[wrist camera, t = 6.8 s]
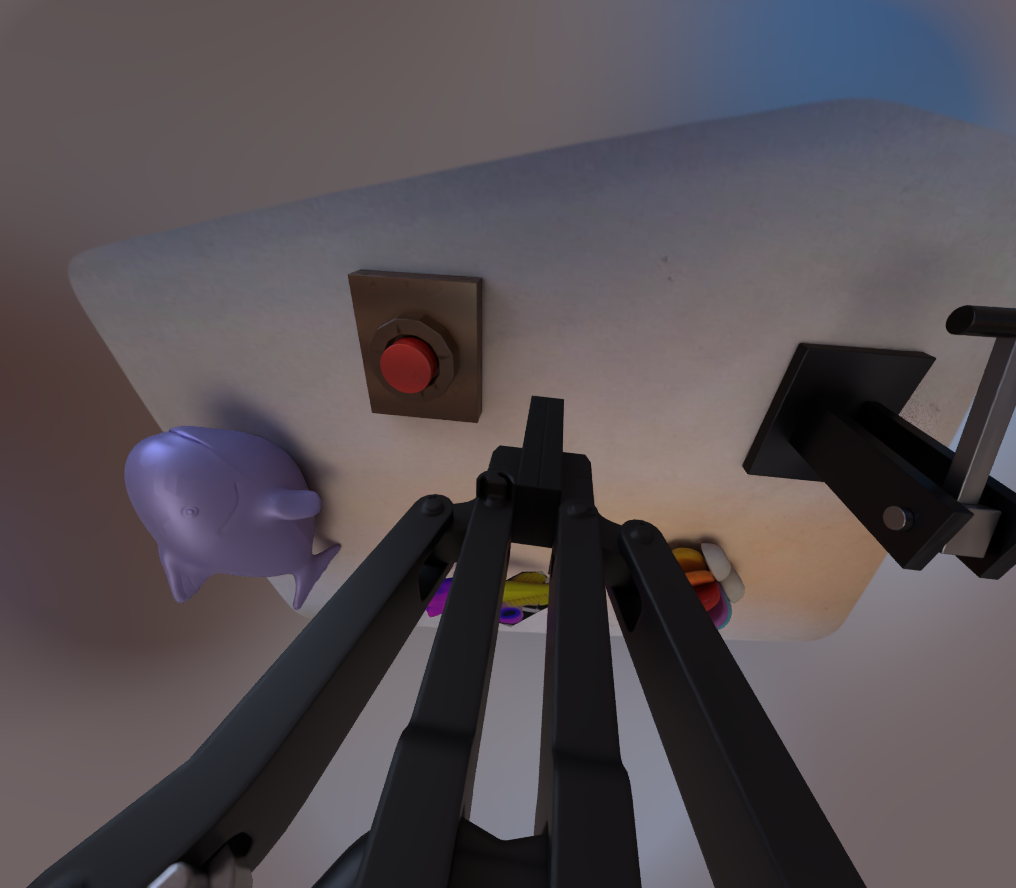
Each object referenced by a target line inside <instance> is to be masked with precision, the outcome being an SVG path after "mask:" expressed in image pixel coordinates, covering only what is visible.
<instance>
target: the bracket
mask: <svg viewBox="0 0 1016 888" xmlns="http://www.w3.org/2000/svg"><path fill="white" fill-rule="evenodd" d="M935 360H936V358H935V357H933V356H931V355H928V354H926V353H924V352H912V351H899V350H885V349H872V348H858V347H845V346H831V345H818V344H804V343H800V344H799V346H798V348H797V350H796V352H795V354H794V356H793V358H792V361H791V363H790V365H789V367H788V369H787V371H786V374H785V376H784V378H783V380H782V382H781V384H780V386H779V389H778V391H777V393H776V395H775V397H774V399H773V402H772V404H771V406H770V408H769V410H768V412H767V414H766V417H765V419H764V421H763V423H762V425H761V427H760V430H759V432H758V434H757V436H756V438H755V440H754V442H753V445H752V447H751V449H750V451H749V453H748V455H747V458H746V460H745V462H744V464H743V468H744V470H745V471H746V473H747V474H749V475H759V476H769V477H779V478H789V479H799V480H808V481H818V482H825V483H826V484H827V485H828V487H829V488H830V489H831V490H832V491H833V492H834V493H835V494H836V495H837V496H838V498H839V499H840V500H841V501H842V502H843V503H844V504H845V505H846V506H847V508H848V509H849V510H850V511H851V512H852V513H853V514H854V515H855V516H856V517H857V519H858V520H859V521H860V522H861V523H862V524H863V525H864V526H865V527H866V529H867V530H868V531H869V532H870V533H871V534H872V535H873V536H874V537H875V538H876V540H877V541H878V542H879V543H880V544H881V545H882V546H883V547H884V548H885V550H886V551H887V552H888V553H889V554H890V555H891V556H892V557H893V558H894V559H895V561H896V562H897V563H898V564H899V565H900V566H901V567H902V568H903V569H910V570H919V571H921V570H922V569H923V568H924V567H925V566H926V565H927V564H928V563H929V562H930V561H931V560H932V559H933V558H934V557H935V556H936V555H937V554H938V553H939V552H940V550H941V549H942V548H943V547H944V546H945V545H946V544H947V543H948V542H949V541H950V540H951V539H952V538H953V537H954V536H955V535H956V534H957V533H958V532H959V531H960V530H961V529H962V528H963V526H964V525H965V524H966V523H967V522H968V521H969V520H970V519H971V518H972V517H973V516H974V515H975V514H974V513H972V512H971V511H970V510H969V509H967V508H966V507H965V506H963V505H962V504H961V503H960V502H958V501H957V500H956V499H954V498H953V497H952V496H951V495H949V494H948V493H947V492H945V491H944V490H943V489H942V488H943V486H944V483H945V480H946V477H947V474H948V472H949V469H950V466H951V463H952V461H953V458H954V455H955V452H953V451H952V450H950V449H949V448H947V447H946V446H944V445H943V444H941V443H940V442H938V441H937V440H935V439H934V438H932V437H931V436H929V435H927V434H926V433H924V432H923V431H921V430H920V429H918V428H917V427H915V426H914V425H912V424H911V423H909V422H908V421H906V420H905V419H903V418H902V417H900V416H899V415H898V414H899V413H900V411H901V410H902V408H903V407H904V406H905V404H906V403H907V401H908V400H909V398H910V397H911V395H912V394H913V392H914V391H915V389H916V388H917V386H918V385H919V383H920V382H921V381H922V379H923V378H924V376H925V375H926V373H927V372H928V370H929V369H930V367H931V366H932V364H933V363H934V361H935ZM978 504H981V505H984V506H987V507H990V508H993V509H996V510H999V511H1001V512H1002V514H1001V516H1000V519H999V521H998V524H997V526H996V529H995V531H994V533H993V536H992V538H991V541H990V543H989V546H988V548H987V551H986V553H985V556H984V557H983V558H977V557H969V556H960V555H955V556H956V557H957V558H959V559H960V560H961V561H962V562H963V563H964V564H965V565H966V566H967V567H968V568H969V569H971V570H972V571H973V572H974V573H975V574H976V575H977V576H978V577H979V578H987V579H995V580H998V579H999V578H1001V577H1002V576H1003V575H1004V574H1005V573H1006V572H1008V571H1009V570H1010V569H1011V568H1012V567H1013V566H1014V565H1015V564H1016V493H1015V492H1014V491H1012V490H1011V489H1009V488H1008V487H1006V486H1005V485H1003V484H1002V483H1000V482H999V481H997V480H996V479H994V478H993V477H991V476H990V475H989V476H988V479H987V482H986V484H985V487H984V489H983V492H982V495H981V497H980V500H979V502H978Z"/></svg>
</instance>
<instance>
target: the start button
mask: <svg viewBox="0 0 1016 888" xmlns="http://www.w3.org/2000/svg"><path fill="white" fill-rule="evenodd" d="M380 366H381V371H382V374H383V376H384V378H385V379H386V381H387V382H388V383H389V384H390V385H391V386H392V387H394V388H395V389H397V390H399V391H401V392H405V393H416V392H419V391H421V390H423V389H424V388H425V387H426V386H427V385H428V384H429V382H430V381H431V380H432V378H433V377H434V375H435V373H436V370H437V360H436V357H435V354H434V352H433V351H432V349H431V348H430V347H429V346H428V345H427V344H426V343H424V342H423V341H421V340H419V339H417V338H413V337H404V338H400V339H398V340H397V341H395V342H394V343H393V344H392V345H391V346H389V347H388V348H387V349H386V350H385V351H384V353H383V354H382V357H381V361H380Z"/></svg>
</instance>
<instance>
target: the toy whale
mask: <svg viewBox="0 0 1016 888" xmlns="http://www.w3.org/2000/svg"><path fill="white" fill-rule="evenodd" d="M124 476H125V485H126V489H127V492H128V496H129V498H130V500H131V503H132V505H133V507H134V509H135V511H136V513H137V514H138V516H139V518H140V519H141V521H142V522H143V524H144V525H145V527H146V528H147V530H148V531H149V532H150V534H151V535H152V536H153V538H154V539H155V540H156V542H157V544H158V547H159V555H160V560H161V563H162V565H163V568H164V570H165V572H166V575H167V579H168V582H169V585H170V588H171V591H172V594H173V597H174V599H175V600H176V601H177V602H178V603H183V602H185V601H187V600H188V599H190V598H191V597H192V596H193V595H194V594H195V593H196V592H197V591H198V590H199V589H200V587H201V586H202V585H203V583H204V582H205V581H206V580H207V579H208V578H209V577H210V576H212V575H213V574H216V573H225V574H231V575H238V576H249V577H272V576H279V575H284V574H293V576H294V578H295V581H296V593H295V597H294V602H293V608H294V609H295V610H298V609H300V608H301V606H302V605H303V603H304V601H305V599H306V598H307V596H308V594H309V592H310V591H311V589H312V587H313V585H314V584H315V582H316V581H317V580H318V579H319V578H320V577H321V574H322V573H323V572H324V571H325V570H326V568H327V566H328V564H329V563H330V561H331V560H332V559H333V557H334V556H335V555H336V554H337V553H338V551H339V550H340V545H334V546H332V547H330V548H328V549H327V550H325V551H323V552H321V553H319V554H316V555H313V554H312V546H313V538H314V528H315V518H314V516H315V515H316V514H318V513H319V512H320V510H321V506H322V501H321V499H320V497H319V495H318V494H317V493H316V492H314V491H309V490H308V487H307V485H306V482H305V479H304V477H303V475H302V473H301V471H300V469H299V467H298V466H297V464H296V463H295V461H294V460H293V459H292V458H291V457H290V455H288V454H287V453H286V452H285V451H284V450H283V449H281V448H280V447H279V446H277V445H275V444H274V443H272V442H270V441H268V440H266V439H264V438H261V437H258V436H255V435H252V434H248V433H244V432H239V431H233V430H223V429H212V428H204V427H195V426H180V427H175V428H172V429H170V430H169V432H163V433H161V434H158V435H154V436H151V437H148V438H145V439H143V440H142V441H140V442H139V443H138V444H137V445H136V446H135V447H134V448H133V450H132V451H131V452H130V454H129V456H128V458H127V461H126V465H125V474H124Z"/></svg>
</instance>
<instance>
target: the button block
mask: <svg viewBox="0 0 1016 888" xmlns="http://www.w3.org/2000/svg"><path fill="white" fill-rule="evenodd" d="M348 279H349V284H350V290H351V296H352V301H353V307H354V313H355V318H356V324H357V330H358V335H359V341H360V347H361V352H362V358H363V364H364V370H365V375H366V381H367V387H368V392H369V398H370V404H371V409H372V413H379V414H389V415H399V416H410V417H420V418H430V419H441V420H451V421H462V422H472V423H478V421H479V418H480V415H481V413H482V278H481V277H465V276H450V275H434V274H419V273H404V272H388V271H373V270H358V271H356V272H353V273H350V274H348ZM404 337H413V338H417V339H419V340H421V341H423V342H424V343H426V344H427V345H428V346H429V347H430V348H431V349H432V351H433V352H434V354H435V357H436V360H437V370H436V373H435V375H434V377H433V378H432V380H431V381H430V382H429V384H428V385H427V386H426V387H425V388H424V389H423V390H421V391H419V392H416V393H405V392H401V391H399V390H397V389H395V388H394V387H392V386H391V385H390V384H389V383H388V382H387V381H386V379H385V378H384V376H383V374H382V371H381V366H380V361H381V357H382V354H383V353H384V351H385V350H386V349H387V348H388V347H389V346H391V345H392V344H393V343H394V342H395V341H397V340H398V339H400V338H404Z"/></svg>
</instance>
